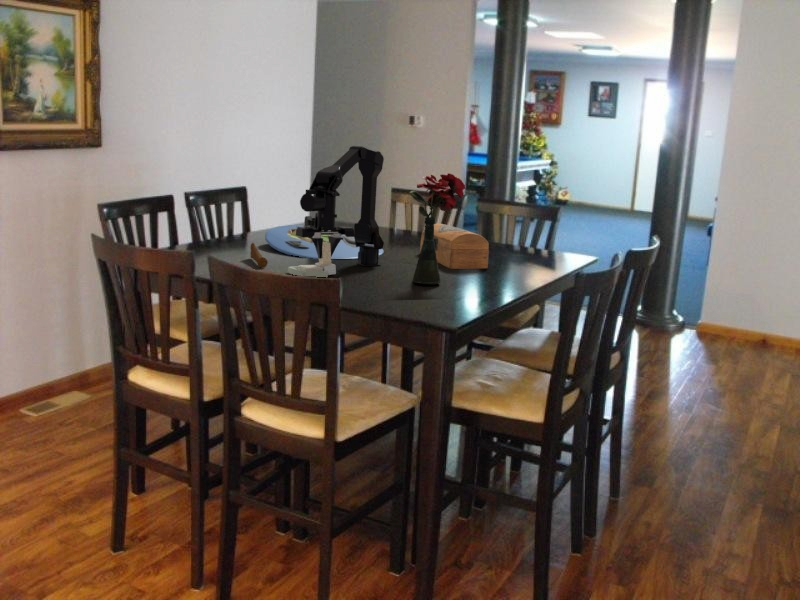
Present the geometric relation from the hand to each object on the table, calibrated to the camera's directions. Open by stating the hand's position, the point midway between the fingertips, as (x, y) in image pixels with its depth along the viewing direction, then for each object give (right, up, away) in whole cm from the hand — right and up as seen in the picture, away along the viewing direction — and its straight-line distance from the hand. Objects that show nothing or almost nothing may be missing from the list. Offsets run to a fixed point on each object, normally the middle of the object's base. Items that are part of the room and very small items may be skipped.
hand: (324, 258), depth 266 cm
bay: (-5, -6, -2) cm, 8 cm away
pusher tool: (0, -5, +1) cm, 5 cm away
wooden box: (+44, -1, +40) cm, 59 cm away
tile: (-4, -6, -1) cm, 7 cm away
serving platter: (-5, +3, +50) cm, 51 cm away
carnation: (+35, -8, 0) cm, 35 cm away
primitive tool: (-25, -3, +17) cm, 30 cm away
